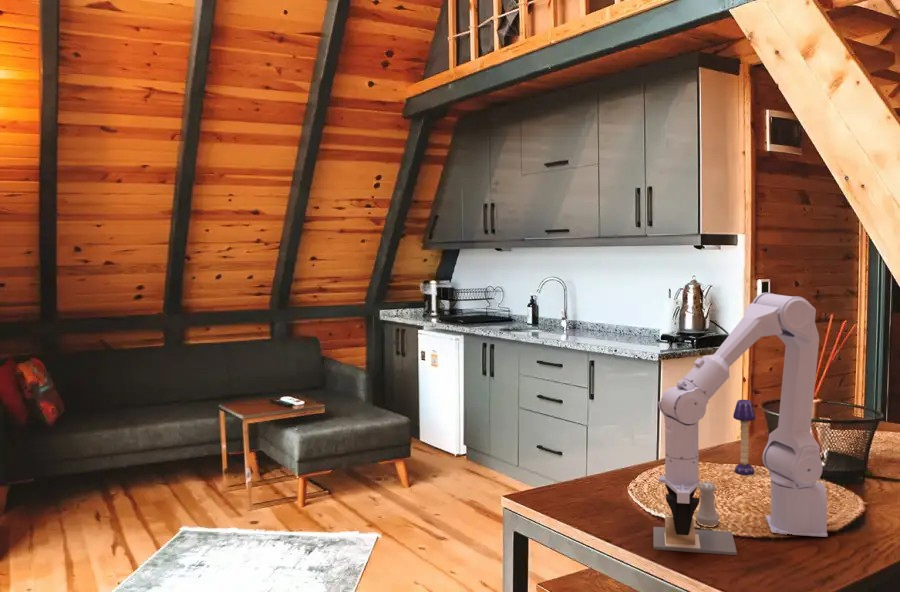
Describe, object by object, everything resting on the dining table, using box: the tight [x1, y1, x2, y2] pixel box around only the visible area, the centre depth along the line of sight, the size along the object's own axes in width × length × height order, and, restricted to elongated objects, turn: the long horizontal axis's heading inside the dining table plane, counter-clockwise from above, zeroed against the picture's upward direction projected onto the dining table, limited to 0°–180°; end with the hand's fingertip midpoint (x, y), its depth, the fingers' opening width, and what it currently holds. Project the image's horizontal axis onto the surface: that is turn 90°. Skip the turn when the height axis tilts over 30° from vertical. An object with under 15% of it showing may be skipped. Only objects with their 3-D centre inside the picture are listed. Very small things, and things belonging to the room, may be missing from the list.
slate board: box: [652, 526, 738, 556], centre depth 141 cm, size 14×9×1 cm, turn 75°
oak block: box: [664, 516, 696, 545], centre depth 141 cm, size 5×5×3 cm
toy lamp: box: [732, 399, 756, 476], centre depth 176 cm, size 5×5×17 cm
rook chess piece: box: [695, 480, 720, 526], centre depth 148 cm, size 4×4×8 cm
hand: (681, 528), depth 140 cm, fingers open, 5 cm apart
